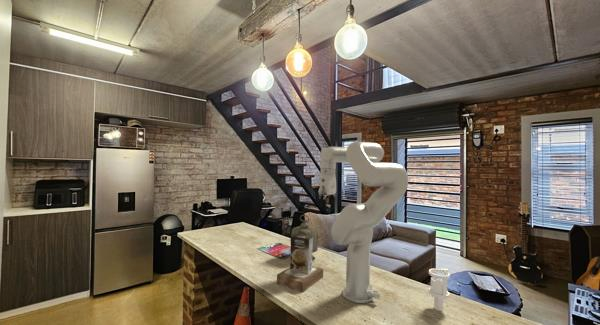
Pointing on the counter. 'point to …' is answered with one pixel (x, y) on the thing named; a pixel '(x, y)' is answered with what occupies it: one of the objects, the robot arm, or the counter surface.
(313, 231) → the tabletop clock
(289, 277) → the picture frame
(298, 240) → the coffee box
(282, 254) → the tablet
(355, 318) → the counter surface
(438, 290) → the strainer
